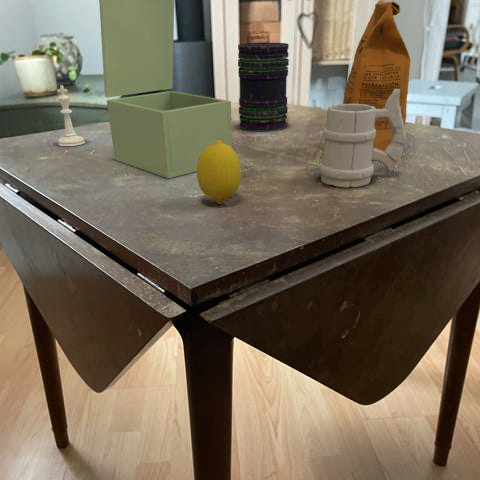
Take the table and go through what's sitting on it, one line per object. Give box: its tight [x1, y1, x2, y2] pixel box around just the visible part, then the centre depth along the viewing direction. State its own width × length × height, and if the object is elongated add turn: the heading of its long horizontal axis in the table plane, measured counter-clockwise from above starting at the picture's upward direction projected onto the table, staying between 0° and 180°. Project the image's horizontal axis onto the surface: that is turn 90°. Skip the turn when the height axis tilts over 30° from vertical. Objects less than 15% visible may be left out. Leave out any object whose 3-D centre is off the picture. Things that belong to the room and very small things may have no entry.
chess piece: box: [56, 84, 86, 147], centre depth 98 cm, size 5×5×10 cm
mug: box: [318, 89, 407, 188], centre depth 75 cm, size 8×12×12 cm, turn 95°
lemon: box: [196, 140, 242, 205], centre depth 68 cm, size 6×6×8 cm
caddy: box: [106, 90, 233, 179], centre depth 86 cm, size 16×13×9 cm
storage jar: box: [237, 42, 290, 132], centre depth 107 cm, size 10×10×15 cm
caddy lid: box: [98, 0, 175, 99], centre depth 85 cm, size 16×13×5 cm
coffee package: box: [342, 0, 411, 151], centre depth 86 cm, size 10×12×22 cm
